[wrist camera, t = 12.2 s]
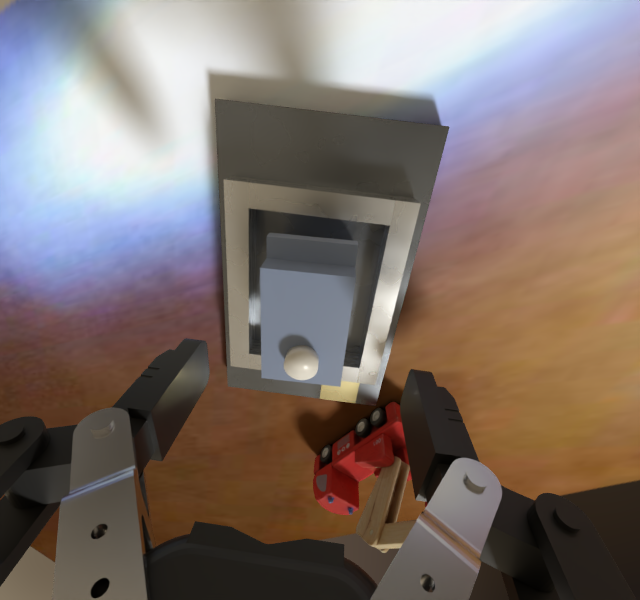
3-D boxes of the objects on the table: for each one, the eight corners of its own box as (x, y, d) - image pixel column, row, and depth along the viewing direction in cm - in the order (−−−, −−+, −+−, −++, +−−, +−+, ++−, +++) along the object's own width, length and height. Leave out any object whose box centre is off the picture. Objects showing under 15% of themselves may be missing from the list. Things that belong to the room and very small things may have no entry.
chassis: (442, 127, 15) (459, 125, 13) (374, 393, 24) (377, 422, 21) (223, 101, 16) (201, 95, 13) (233, 375, 24) (220, 401, 22)
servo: (355, 223, 17) (360, 259, 12) (339, 344, 20) (337, 410, 15) (282, 216, 17) (255, 249, 12) (279, 337, 21) (258, 401, 16)
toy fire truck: (310, 455, 28) (295, 596, 19) (429, 367, 22) (481, 509, 14) (338, 472, 29) (335, 614, 20) (459, 391, 23) (526, 539, 15)
